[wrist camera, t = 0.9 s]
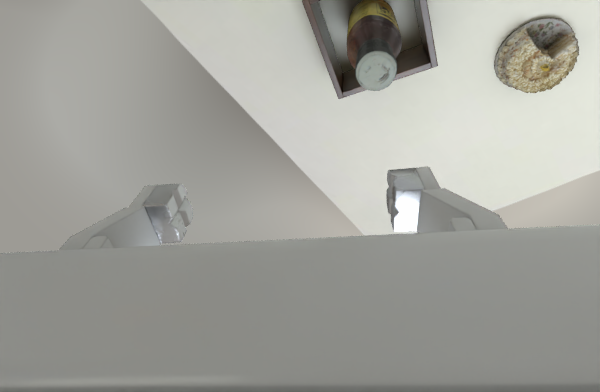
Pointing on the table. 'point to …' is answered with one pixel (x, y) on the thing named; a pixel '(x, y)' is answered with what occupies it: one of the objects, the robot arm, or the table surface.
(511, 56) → the cake
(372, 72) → the sauce bottle
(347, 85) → the caddy
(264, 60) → the table surface
